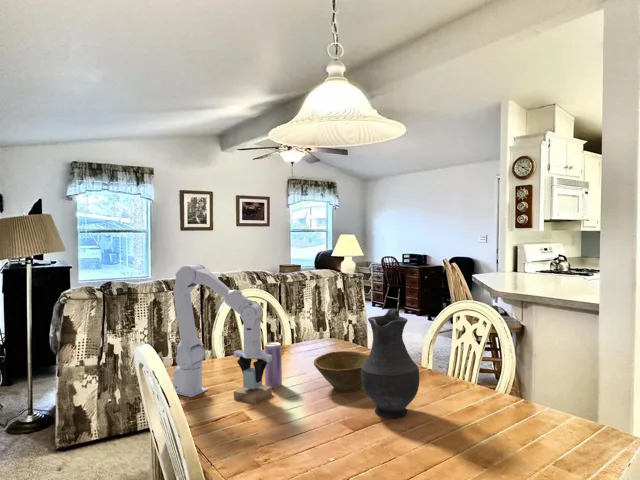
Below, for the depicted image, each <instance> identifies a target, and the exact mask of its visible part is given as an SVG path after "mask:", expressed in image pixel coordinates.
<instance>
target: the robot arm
mask: <svg viewBox="0 0 640 480" xmlns="http://www.w3.org/2000/svg"><path fill="white" fill-rule="evenodd" d="M197 285H205V286H207V287H208V288H210V289H211V290H213V291H214V292H216V293H217V294H219V296H221V297H223V298H224V303H225V304H226V305H227V306H229V308H231V309H232V310H233V311H235V312H236V313H237V314H239V316H240V319H241V321H242V322H243V350H240V349H236V350H235V351H233V357H234V358H239V359H237V360H236V361H237V364H238V366H239V367H240V370H241V372H242V373H243V371H244V370H246V369H248V368H250V367H252V364H253V367H254V368H255V374H256V382H257V383H258V382H260V381H261V380H262V381H263V377H264V373H265V367H266V365H267V363H268V362H271V361H272V355H269V354H266V353H265V352H262V331H261V330H262V329H261V328H262V326H261V323H262V322H261V318H262V317H263V313H264V310H263V307H262V306H261V305H260V303H258V302H253V300H252V299H249V298H248V297H247V296H245V295H243V292H242V291H241V290H240V289H238V290H237V289H230V287H228V286H227V285H226V284H225V283H224V282H222V281H221V280H220V278H218V277H217V276H215V274H213V272H211V270H210V269H209V268H207V267H206V266H204V265H203V264H200V263H198V264H197V263H196V264H194V265H193V264H191V265H183V266H181V267H180V268H179V269H178V270H177V271H176V273H175V282H174V285H173V287H172V289H173V290H172V291H173V299H174V304H175V305H174V306H175V311H176V312H175V313H176V318H177V325H178V332H179V339H180V341H179V343H178V344H177V347H176V356H175V362H176V364H177V366H176V367H175V368H174V371H173V376H172V377H173V380H172V381H173V388H174V387H175V390H176V392H177V394H176V395H180V396H181V395H182V396H184V397H189V398H192V397H196V396H197V395H200V394H202V393H203V392H206V391H208V390H209V389H208V388H207V387H203V360H204V359H205V356H206V350H205V348H204V346H203V345H202V340H201V339H200V338H199V337H198V336H197V330H196V324H195V323H196V322H195V316H194V309H193V303H192V296H191V293H192V290H193V289H194V288H195V287H196V286H197ZM252 360H255V361H254V362H253V363H252Z"/></svg>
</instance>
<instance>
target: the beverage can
mask: <svg viewBox="0 0 640 480" xmlns="http://www.w3.org/2000/svg"><path fill="white" fill-rule="evenodd" d="M281 344H282V343H280V342H277V341H276V342H275V341H270V342H267V343H265V344H264V353H266V354H269V355H272V361H271V362H268V363H267V365H266V367H265V369H264V386H270V387H272V389H276V388H280V387H281V386H282V384H283V380H282V378H283V375H282V374H283V373H282V370H283V366H282V364H283V363H282V359H283V358H282V345H281Z"/></svg>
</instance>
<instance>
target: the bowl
mask: <svg viewBox="0 0 640 480" xmlns="http://www.w3.org/2000/svg"><path fill="white" fill-rule="evenodd" d="M369 355H370V354H368V353H363V352H359V351H353V350H352V351H350V350H349V351H347V350H346V351H345V350H342V351H341V350H339V351H330V352H326V353H323V354H321V355H319V356H317V357H316V358H315V359H314V361H313V365H314V367H315V369H317V371H318V372H319V373H320V374H321V376H322V377H323V378H324V379H325V380H326V381H327V382H328V383H329V384H330V385H331V386H332V387H333V389H335V390H336V391H338V392H342V393H352V392H357V391H358V390H360V388H361V387H363V385H362V380H361V367H362V365H363V364H364V363H365V362H366V360H367V359H368V357H369Z"/></svg>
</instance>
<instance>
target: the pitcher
mask: <svg viewBox="0 0 640 480" xmlns="http://www.w3.org/2000/svg"><path fill="white" fill-rule="evenodd" d="M367 321H368V322H369V324H370V327H371V330H372V331H371V332H372V344H371V348H370V352H369V354H368V355H369V357H368V359H367V360H366V362H365V363H364V364H363V365H362V367H361V380H362V387H363V390H364V392H365V394H366V395H367V397H368V398H369V399H370V400H371V401H372V402H373V404H375V406H376V407H375V409H374V413H375V415H377V416H378V417H380V418H386V419H399V418H403V417H405V416H407V415H408V409H407V407H408V406H409V405H410V404H411V403H412V401H413V400H414V399H415V398H416V396H417V394H418V391H419V388H420V369H419V367H418V364H416V362H415V361H414V360H413V359H412V358H411V356H410V354H409V352H408V350H407V347H406V344H405V342H404V339H403V334H404V328H405V326H406V324H407V323H408V319H407V318H405V317H403V316H400V313H399V311H398V309H397V308H396V309H395V308H394V309H393V308H389V309H388V310H387V311H386V313H385V314H384V315H376V316H370V317H368V318H367Z"/></svg>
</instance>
